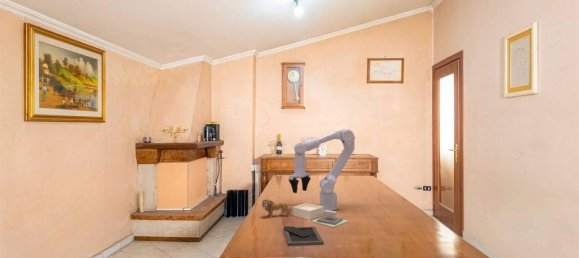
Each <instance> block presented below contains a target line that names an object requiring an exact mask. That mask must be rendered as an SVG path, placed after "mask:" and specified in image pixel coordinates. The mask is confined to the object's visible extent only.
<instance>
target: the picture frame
mask: <svg viewBox="0 0 579 258" xmlns="http://www.w3.org/2000/svg"><path fill="white" fill-rule="evenodd" d="M283 232H284V236H285V240H286V244H287V246H288V247H292V246H293V247H297V246H298V247H299V246H324V245H325V244H324V240H323V238H322V237H321V235H320V233H319V231H318V230H317V227H316V226H290V225H289V226H286V225H285V226H283Z"/></svg>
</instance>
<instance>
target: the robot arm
mask: <svg viewBox="0 0 579 258" xmlns="http://www.w3.org/2000/svg"><path fill="white" fill-rule="evenodd" d="M332 140H340V141H341V144H342V146H343V149H342V151H341V152H340V154H339V156H338V157H337V159H336V160H335V162H334V164H333V166H332V167H331V169H330V170H329V171H328V173H327V174H326V175H325V177H324V178H323V179H321V180H320V182H319V187H320V191H319V206H323V207H324V210H330V211H336V210H339V207H338V195H337V193H336V192H334V190H335V184H337V180H338V177H339V176H340V174H341V172H342V171H343V170H344V167H345V166H346V165H347V163H348V161H349V159H350V157H352V154H353V153H354V150H355V140H356V137H355V134H354V132H353V131H352V130H351V129H345V128H342V129H341V130H335V131H332V132H330V133H328V134H326V135H323V136H321V137H314V136H311V137H309V139H306V140H301V142H298V143H296V144H295V145H294V146H293V147H294V148H293V150H294V167H293V168H294V171H293V172H294V173H293V174H290V175H289V176H288V182H289V184H290V186H291V189H292V193H293V194H297V193H298V186H299V182H300V180H301V187H302V188H301V189H302V191H303V192H304V191H305V192H307V190H308V186H309V183H310V182H311V178H312V177H311V172H306V152H310V151H312V150H315V149H317V148H319V147H320V145H321V144H324V143H326V142H329V141H332ZM299 179H300V180H299Z"/></svg>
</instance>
